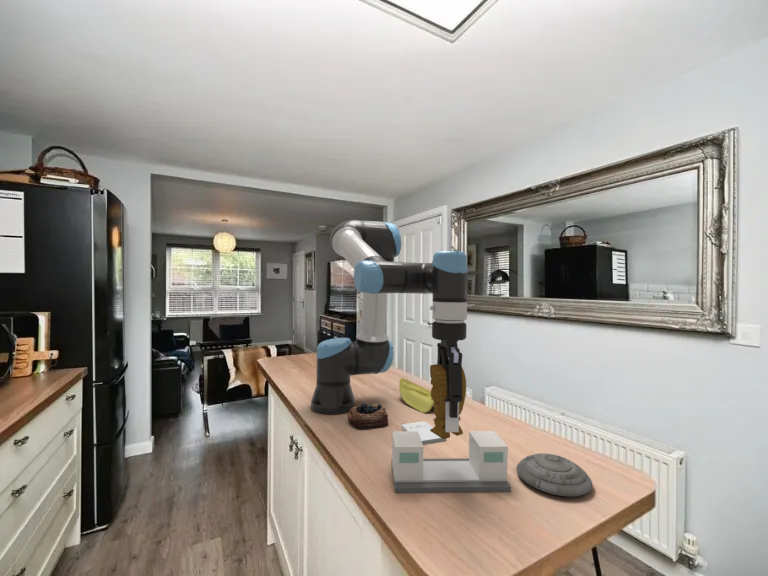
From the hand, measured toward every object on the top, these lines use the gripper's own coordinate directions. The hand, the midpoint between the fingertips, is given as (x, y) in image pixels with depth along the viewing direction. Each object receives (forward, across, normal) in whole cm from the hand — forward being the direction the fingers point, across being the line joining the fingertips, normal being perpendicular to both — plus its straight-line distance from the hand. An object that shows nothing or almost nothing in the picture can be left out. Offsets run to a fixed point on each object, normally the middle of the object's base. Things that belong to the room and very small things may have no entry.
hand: (447, 423), depth 78 cm
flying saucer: (+12, +2, +23) cm, 26 cm away
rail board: (+12, 0, 0) cm, 12 cm away
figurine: (+2, 0, 0) cm, 2 cm away
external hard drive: (+13, -23, -2) cm, 26 cm away
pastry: (+12, -31, -18) cm, 38 cm away
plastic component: (+12, -49, +2) cm, 51 cm away
